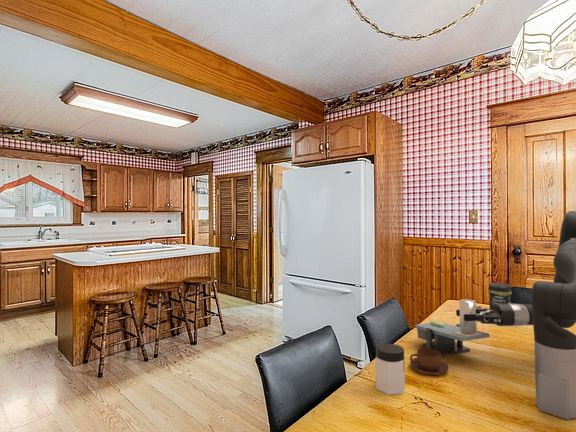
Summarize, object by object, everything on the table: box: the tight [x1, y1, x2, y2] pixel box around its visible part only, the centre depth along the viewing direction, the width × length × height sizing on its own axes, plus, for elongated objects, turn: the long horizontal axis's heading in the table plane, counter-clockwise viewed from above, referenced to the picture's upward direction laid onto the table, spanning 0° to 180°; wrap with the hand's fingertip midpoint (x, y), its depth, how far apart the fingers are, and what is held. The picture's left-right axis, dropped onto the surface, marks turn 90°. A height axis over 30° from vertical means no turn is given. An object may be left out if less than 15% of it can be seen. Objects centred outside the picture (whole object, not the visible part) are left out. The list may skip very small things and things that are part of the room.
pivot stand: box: [420, 323, 471, 357], centre depth 131 cm, size 8×16×9 cm, turn 106°
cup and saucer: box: [409, 348, 450, 376], centre depth 115 cm, size 12×12×6 cm
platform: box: [414, 320, 491, 342], centre depth 128 cm, size 25×12×7 cm, turn 16°
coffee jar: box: [487, 282, 513, 309], centre depth 166 cm, size 10×8×19 cm
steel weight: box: [458, 298, 478, 335], centre depth 120 cm, size 5×5×11 cm
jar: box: [375, 342, 406, 396], centre depth 102 cm, size 9×8×12 cm
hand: (460, 315), depth 120 cm, fingers closed on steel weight, 5 cm apart
